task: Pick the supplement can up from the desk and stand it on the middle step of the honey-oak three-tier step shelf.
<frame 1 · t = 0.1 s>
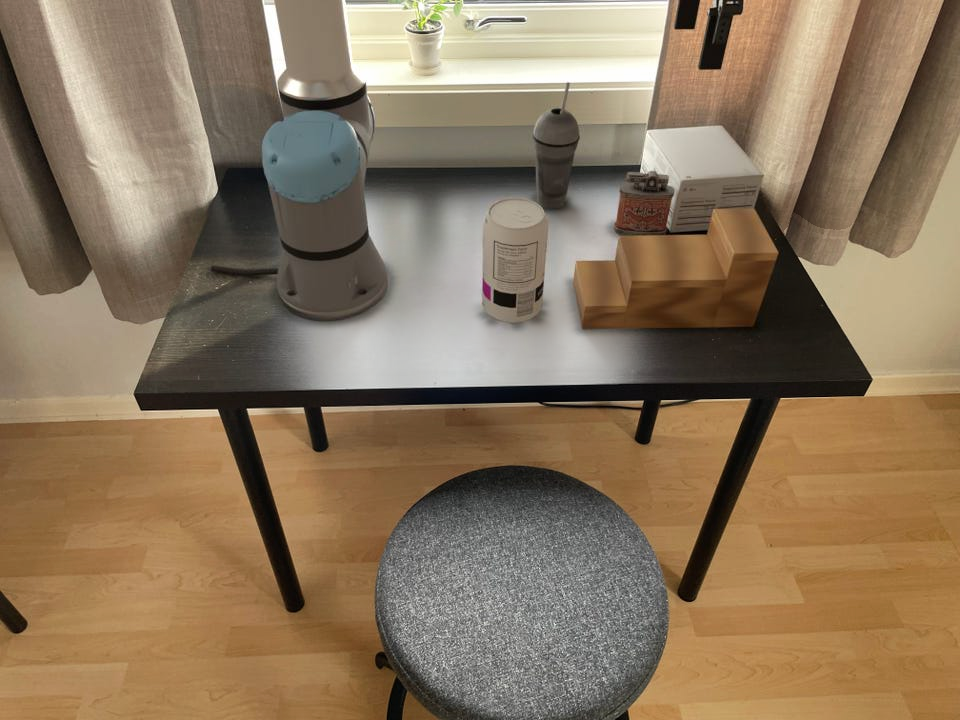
hand: (696, 47, 96), 28 cm above the table, tool pointing down, fingers open, 13 cm apart
supplement can: (512, 307, 102), on the table
lighter: (639, 232, 115), on the table
step shelf: (660, 304, 102), on the table
supplement box: (691, 203, 121), on the table
beverage cup: (550, 202, 121), on the table
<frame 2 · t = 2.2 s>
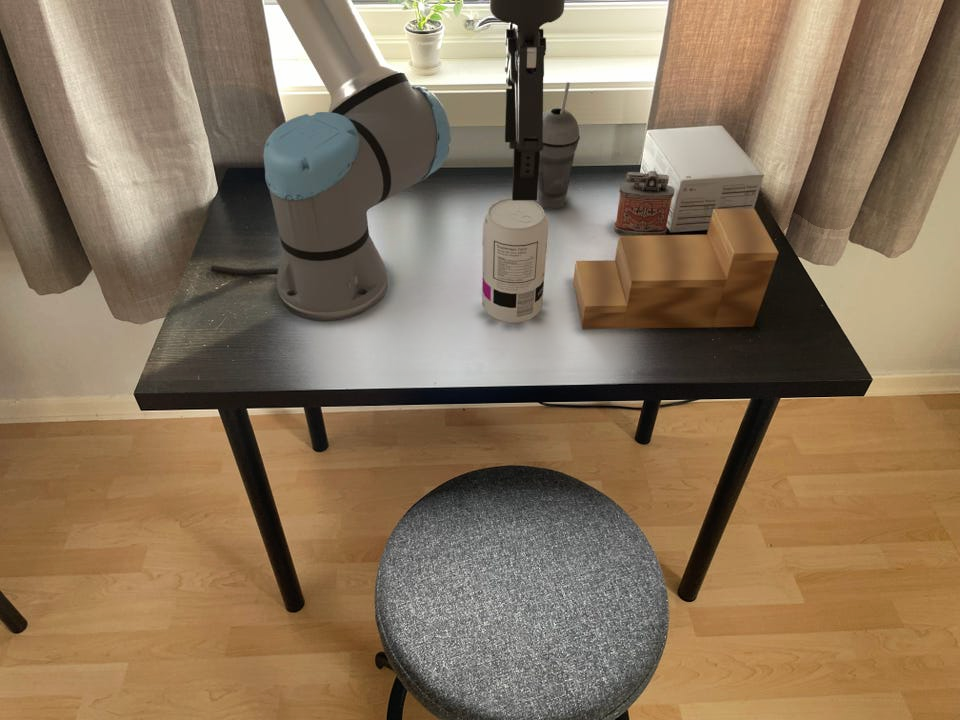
hand: (519, 168, 87), 21 cm above the table, tool pointing down, fingers open, 13 cm apart
nothing on the table moved.
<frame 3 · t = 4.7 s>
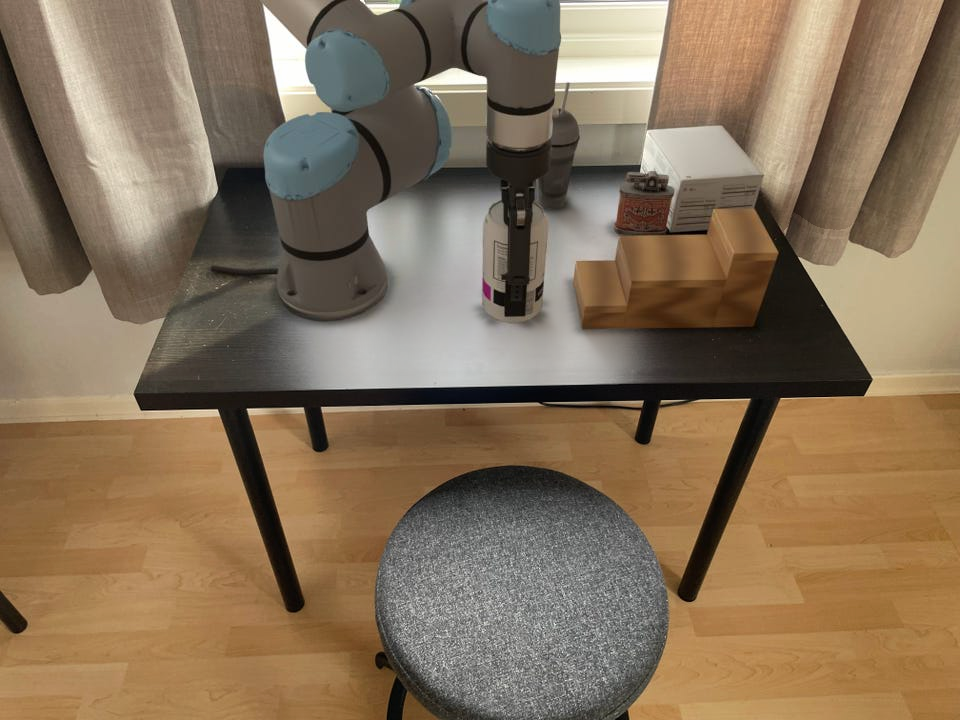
hand: (512, 293, 100), 2 cm above the table, tool pointing down, fingers closed on supplement can, 8 cm apart
supplement can: (512, 307, 102), on the table, touching gripper
everything else where it was.
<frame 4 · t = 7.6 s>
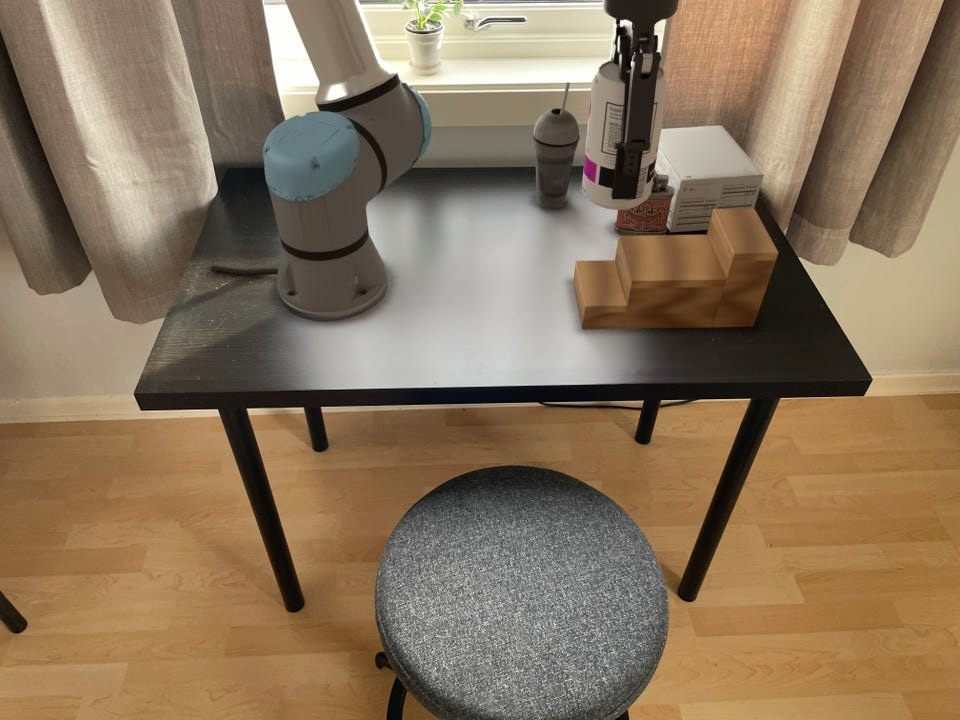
hand: (617, 177, 88), 20 cm above the table, tool pointing down, fingers closed on supplement can, 8 cm apart
supplement can: (615, 196, 89), point 17 cm above the table, touching gripper
everything else where it was.
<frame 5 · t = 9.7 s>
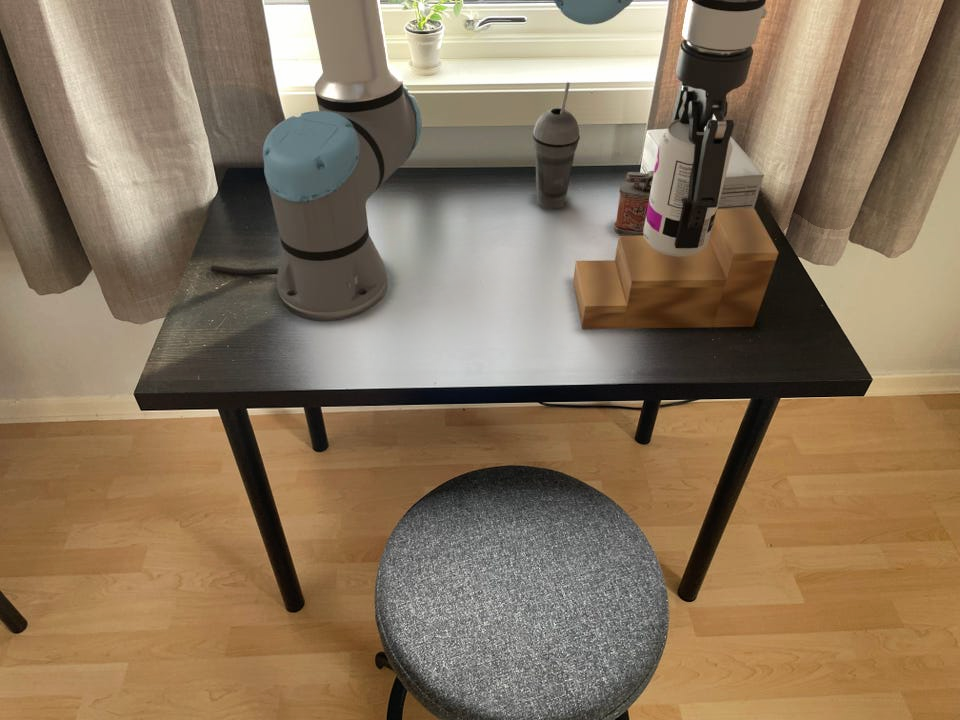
hand: (677, 226, 93), 13 cm above the table, tool pointing down, fingers closed on supplement can, 8 cm apart
supplement can: (674, 242, 95), point 10 cm above the table, touching gripper
everything else where it was.
when the fingers open (10 cm above the table, at t = 10.8 s): supplement can stays where it is, resting on step shelf.
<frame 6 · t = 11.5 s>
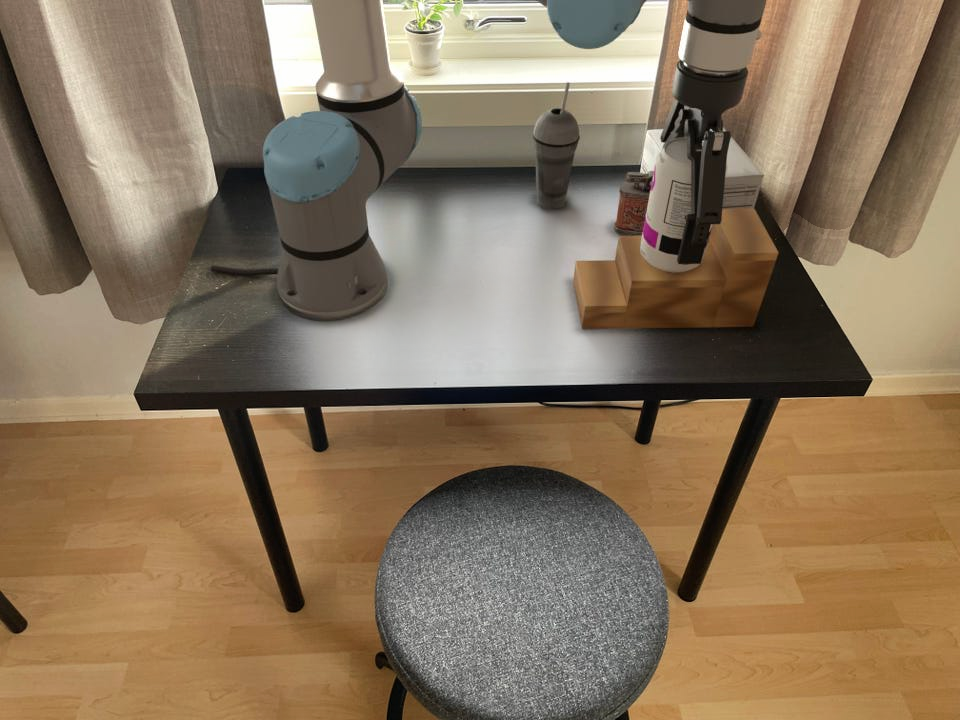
hand: (676, 230, 94), 12 cm above the table, tool pointing down, fingers open, 13 cm apart
supplement can: (670, 257, 96), point 8 cm above the table, touching step shelf
everything else where it was.
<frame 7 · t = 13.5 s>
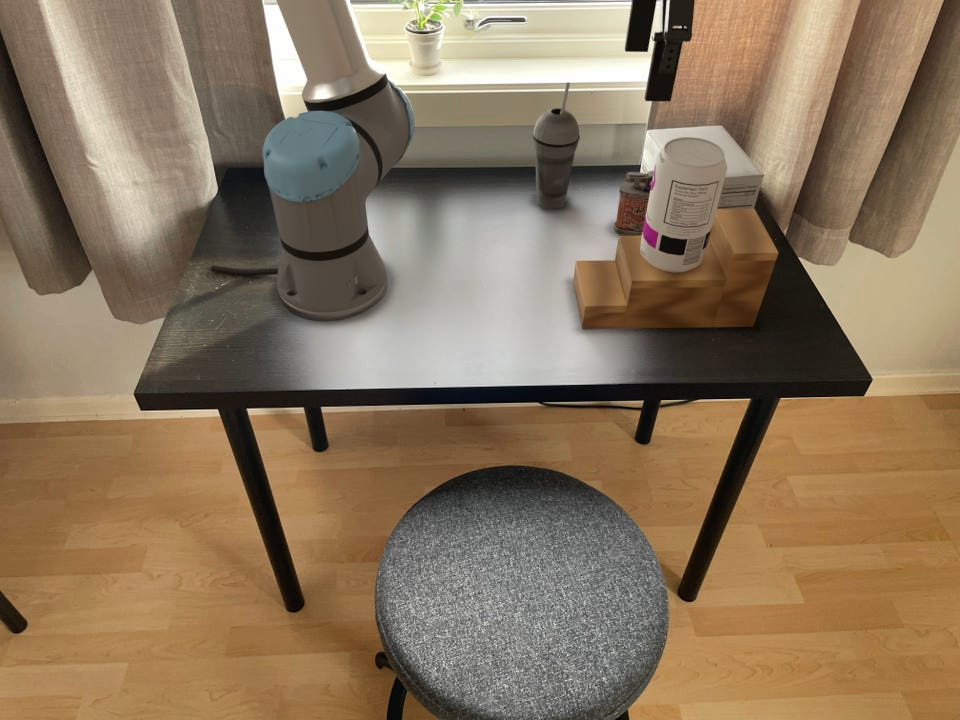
hand: (646, 74, 85), 30 cm above the table, tool pointing down, fingers open, 13 cm apart
nothing on the table moved.
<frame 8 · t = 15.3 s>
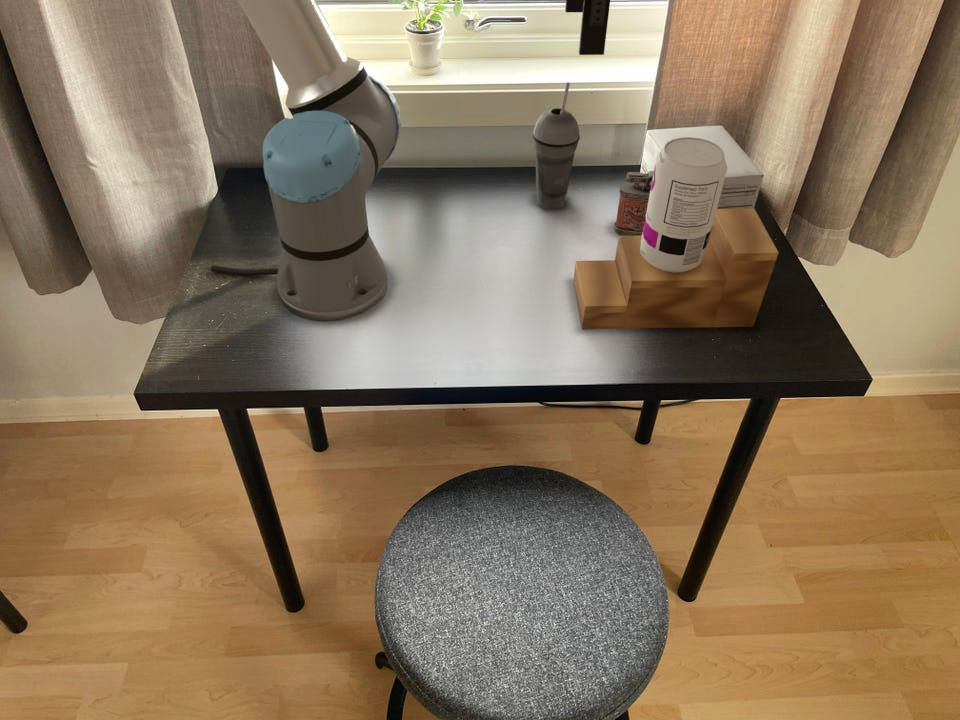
hand: (583, 31, 87), 33 cm above the table, tool pointing down, fingers open, 13 cm apart
nothing on the table moved.
at the end: supplement can inside the target area on the step shelf (0.0 cm from its centre), point 7.8 cm above the step shelf's base; supplement can tilted 0°; the gripper is holding nothing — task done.
